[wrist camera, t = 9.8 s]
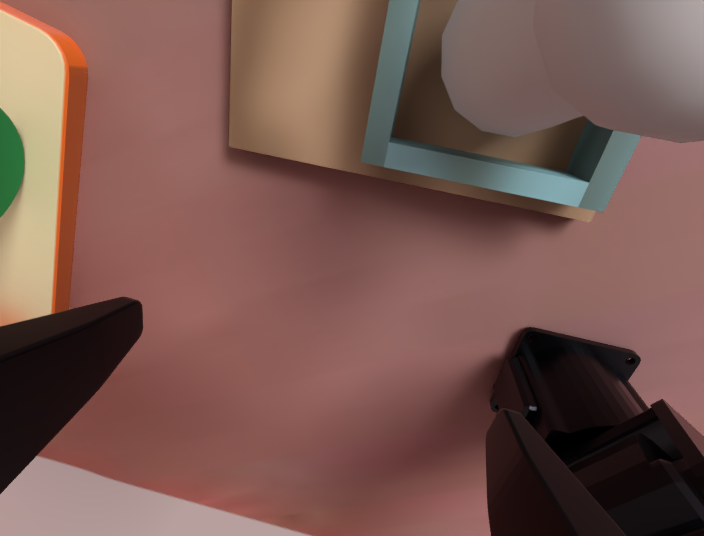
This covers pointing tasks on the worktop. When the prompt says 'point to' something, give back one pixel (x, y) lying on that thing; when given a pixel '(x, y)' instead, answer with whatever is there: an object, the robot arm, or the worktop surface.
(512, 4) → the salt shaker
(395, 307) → the worktop surface
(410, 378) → the worktop surface
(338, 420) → the worktop surface
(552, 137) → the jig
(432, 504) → the worktop surface
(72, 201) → the crank mechanism
